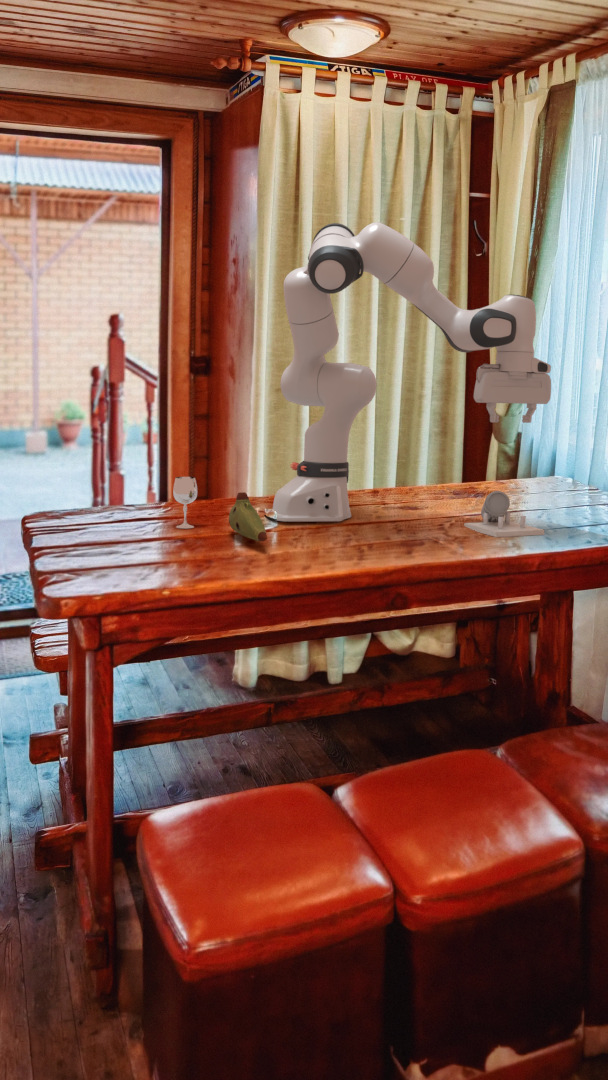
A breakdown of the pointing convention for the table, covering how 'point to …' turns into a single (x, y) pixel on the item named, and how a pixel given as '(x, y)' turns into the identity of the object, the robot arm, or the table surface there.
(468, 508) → the table surface
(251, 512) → the green banana
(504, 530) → the grey peg board
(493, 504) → the energy drink can
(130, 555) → the table surface
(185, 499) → the wineglass
